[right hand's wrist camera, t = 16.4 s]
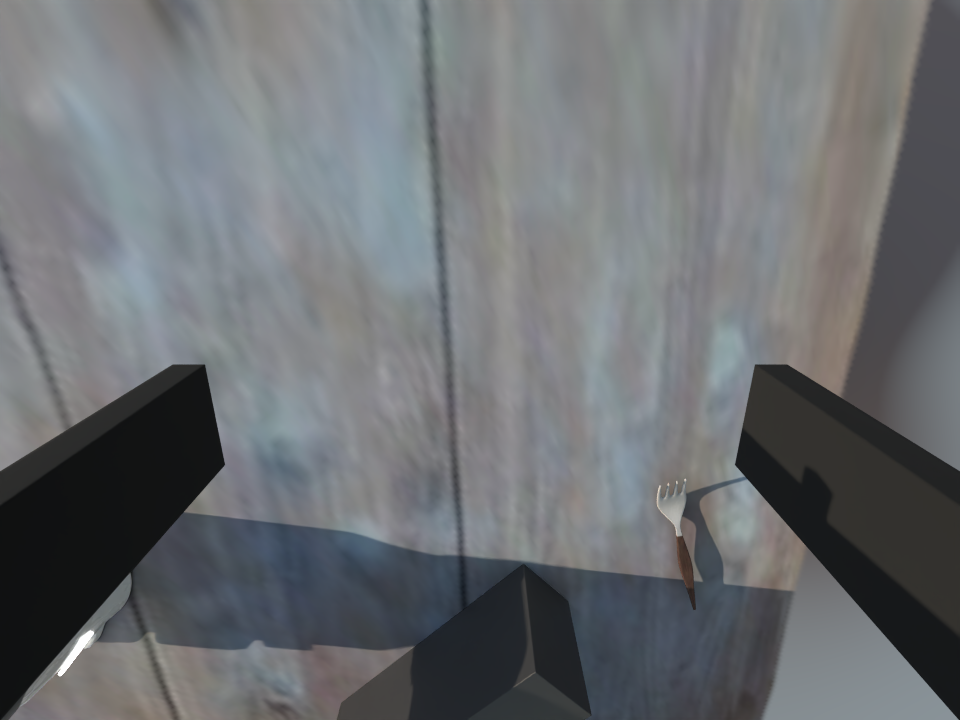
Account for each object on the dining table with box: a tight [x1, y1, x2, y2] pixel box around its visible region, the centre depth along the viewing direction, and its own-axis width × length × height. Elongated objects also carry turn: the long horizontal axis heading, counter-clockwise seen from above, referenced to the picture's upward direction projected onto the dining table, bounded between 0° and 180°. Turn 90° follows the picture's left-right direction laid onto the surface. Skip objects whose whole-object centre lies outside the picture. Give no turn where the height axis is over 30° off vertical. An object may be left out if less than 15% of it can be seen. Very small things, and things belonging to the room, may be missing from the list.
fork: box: [657, 479, 696, 610], centre depth 46 cm, size 3×16×2 cm, turn 17°
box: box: [337, 564, 591, 720], centre depth 46 cm, size 26×6×11 cm, turn 134°
